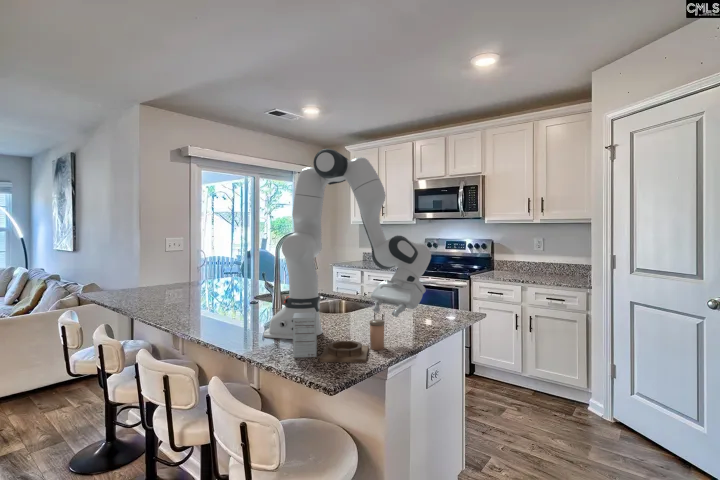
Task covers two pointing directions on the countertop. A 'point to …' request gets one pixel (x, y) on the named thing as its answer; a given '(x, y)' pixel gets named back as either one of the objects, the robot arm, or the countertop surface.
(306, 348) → the supplement box
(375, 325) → the spice jar
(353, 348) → the jar stand
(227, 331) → the countertop surface
